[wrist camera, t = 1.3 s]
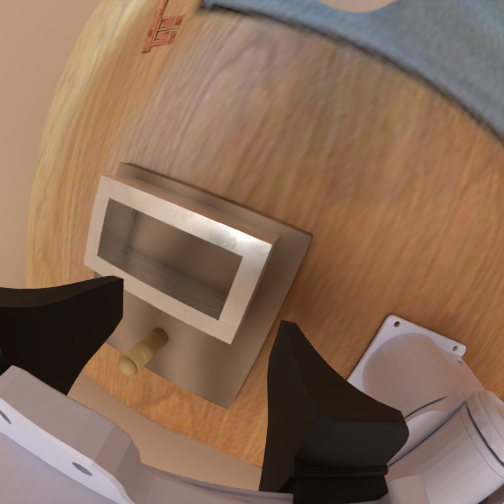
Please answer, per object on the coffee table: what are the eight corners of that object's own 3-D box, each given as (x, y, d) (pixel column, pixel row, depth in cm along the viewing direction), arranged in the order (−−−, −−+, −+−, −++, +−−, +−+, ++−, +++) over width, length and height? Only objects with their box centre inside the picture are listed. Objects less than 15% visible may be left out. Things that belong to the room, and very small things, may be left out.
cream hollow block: (280, 234, 18) (272, 245, 15) (245, 318, 20) (230, 344, 16) (134, 176, 20) (101, 175, 16) (115, 253, 21) (83, 263, 18)
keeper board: (312, 234, 19) (313, 255, 12) (233, 400, 24) (209, 454, 17) (130, 163, 21) (68, 157, 14) (97, 324, 26) (51, 354, 19)
